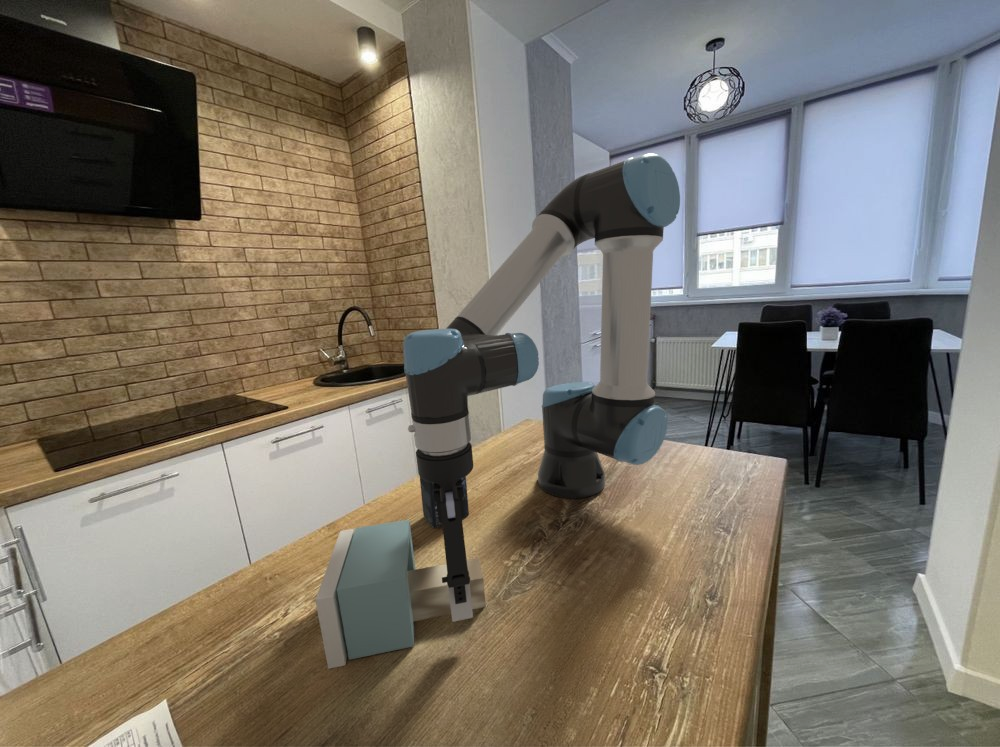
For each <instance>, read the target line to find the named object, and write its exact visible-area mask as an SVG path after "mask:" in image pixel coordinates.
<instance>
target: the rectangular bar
mask: <svg viewBox="0 0 1000 747" xmlns="http://www.w3.org/2000/svg"><path fill="white" fill-rule="evenodd" d="M467 567H468V571H469V576H470V592H471V602H472V610H476V609H477V610H478V609H481V608H486V607H487V605H486V593H485V592H486V591H485V580H484V575H483V571H482V570H483V569H482V566H481V560H480V557H477V558H472V559H467ZM415 569H416V570H410V571H407V577H408V585H409V593H410V600H411V608H412V616H413V622H417V621H423V620H427V619H432V618H437V617H442V616H447V615H451V607H450V598H449V590H448V585H447V582H446V583H442V577H447V564H446V563H444V564H439V565H433V566H428V567H422V568H415Z"/></svg>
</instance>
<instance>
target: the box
mask: <svg viewBox="0 0 1000 747" xmlns="http://www.w3.org/2000/svg"><path fill="white" fill-rule="evenodd" d="M461 480H462V486H463V492H464V499H463V507H464V515H465V516H464V517H468V516H469V515H470V512H469V499H468V497H469V496H468V486H467V476H466V477H464V478H461ZM419 484H420V485H419V486H420V492H421V493H420V494H421V503H422V512H423V517H424V518H425V520H426V521H427V522H428V523H429V524H430V526H431V527H432V528H433V529H435V530H436V529H437V528H439V527H443V526H442V524H440V523H439V520H438V510H437V504H436V503H435V499H434V483H433V482H432V483H431V482H427V481H425V480H423V479H422V478H421V477H420V476H419Z"/></svg>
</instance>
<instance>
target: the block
mask: <svg viewBox="0 0 1000 747" xmlns="http://www.w3.org/2000/svg"><path fill="white" fill-rule="evenodd" d="M410 522H411V521H410V519H404V520H403V519H402V520H397V521H391V522H390V521H389V522H385V523H377V524H371V525H366V526H365V525H364V526H359V527H355V528H354V531H355V532H354V536H353V539H352V542H351V545H350V549H349V552H348V555H347V558H346V562H345V565H344V568H343V572H342V575H341V578H340V581H339V585H338V588H337V594H338V599H339V605H340V611H341V617H342V622H343V628H344V634H345V639H346V645H347V651H348V655H347V658H348V660H355V659H358V658H364V657H368V656H374V655H379V654H383V653H388V652H392V651H393V652H394V651H397V650H402V649H407V648H413V647H414V646H415V624H414V621H413V616H412V608H411V600H410V593H409V585H408V577H407V571H410V570H416V569H417V568H416V563H415V555H414V546H413V538H412V532H411V531H412V530H411V529H412V528H411V523H410Z"/></svg>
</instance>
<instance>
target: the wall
mask: <svg viewBox="0 0 1000 747" xmlns="http://www.w3.org/2000/svg"><path fill="white" fill-rule="evenodd" d="M354 532H355V528H350V529H344V530H340V531H339V534H338V537H337V539H336V542H335V545H334V547H333V551H332V553H331V556H330V559H329V561H328V564H327V567H326V570H325V571H324V572H325V573H324V575H323V577H322V581H321V583H320V585H319V589H318V591H317V594H316V598H315V600H314V601H315V606H316V611H317V615H318V616H317V617H318V622H319V627H320V632H321V636H322V642H323V648H324V654H325V658H326V663H327V664H326V665H327V669H328V670H330V669H331V670H332V669H334V668H340V667H344V666H346V663H347V659H348V651H347V645H346V639H345V634H344V628H343V622H342V617H341V611H340V605H339V599H338V594H337V588H338V585H339V581H340V578H341V575H342V572H343V568H344V565H345V562H346V558H347V555H348V552H349V549H350V545H351V542H352V539H353V536H354Z"/></svg>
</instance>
